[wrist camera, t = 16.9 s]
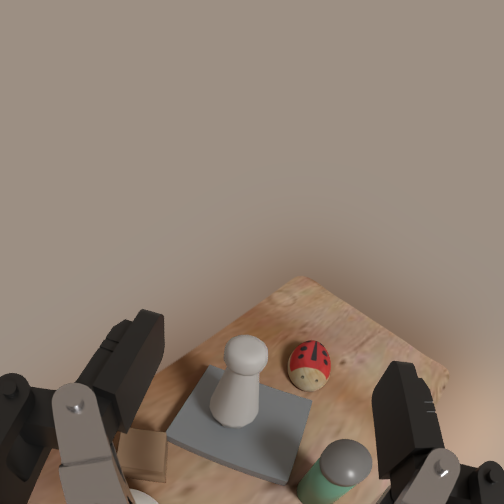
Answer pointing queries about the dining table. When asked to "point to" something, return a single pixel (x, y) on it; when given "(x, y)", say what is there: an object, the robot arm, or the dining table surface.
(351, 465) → the dark green jar
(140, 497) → the white dome
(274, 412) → the cutting board
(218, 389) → the salt shaker
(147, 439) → the brown wooden block
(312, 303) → the dining table surface
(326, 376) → the ladybug figurine
